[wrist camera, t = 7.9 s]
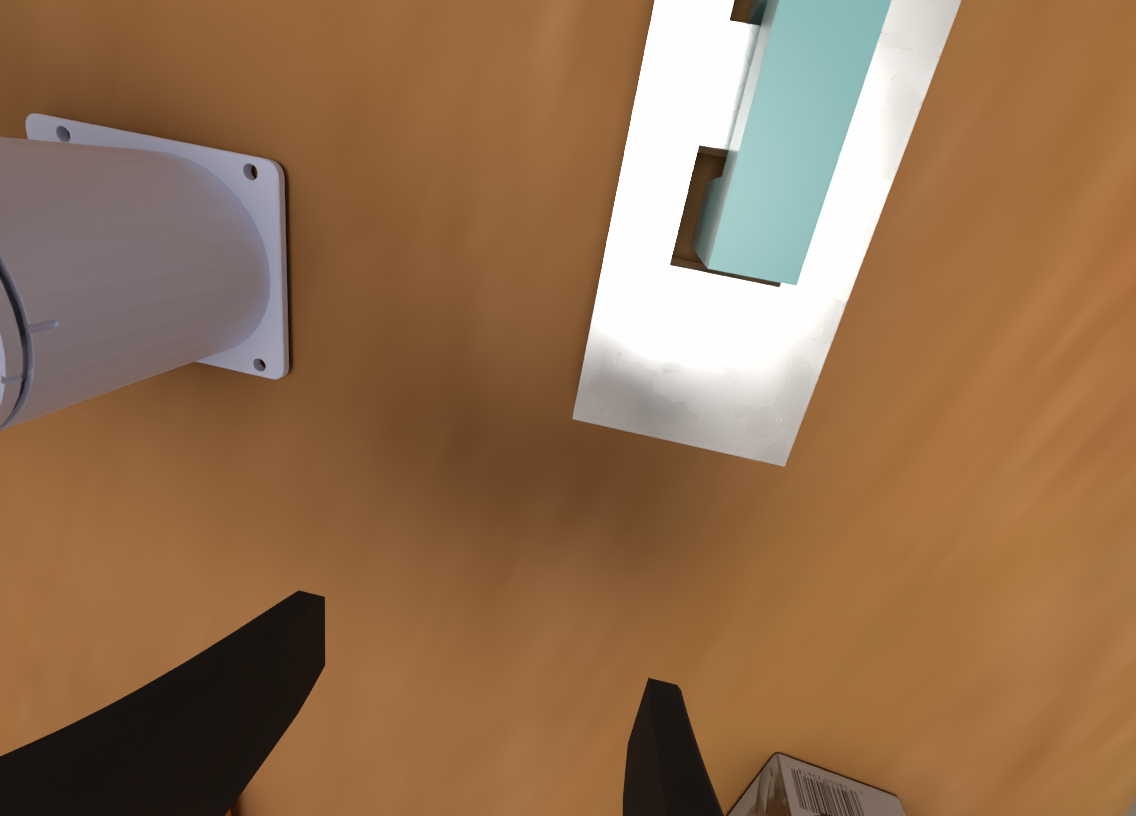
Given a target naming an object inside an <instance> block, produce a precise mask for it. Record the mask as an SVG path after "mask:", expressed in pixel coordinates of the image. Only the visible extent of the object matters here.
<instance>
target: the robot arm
mask: <svg viewBox="0 0 1136 816" xmlns="http://www.w3.org/2000/svg"><path fill="white" fill-rule="evenodd" d="M25 123H26V132H27V137H28V139H20V138H9V137H0V431H2V430H5V429H8V428H10V427H13V426H16V425H19V424H21V423H24V422H27V421H30V420H33V419H35V418H38V417H41V416H44V415H47V414H49V413H52V412H55V411H58V410H61V409H63V408H66V407H69V406H72V405H75V404H77V403H80V402H83V401H86V400H88V399H91V398H94V397H97V396H100V395H102V394H105V393H108V392H111V391H114V390H116V389H119V388H122V387H125V386H128V385H130V384H133V383H136V382H139V381H142V380H144V379H147V378H150V377H153V376H155V375H158V374H161V373H164V372H167V371H169V370H172V369H175V368H178V367H181V366H183V365H186V364H189V363H192V362H199V363H204V364H208V365H212V366H217V367H221V368H225V369H230V370H234V371H239V372H243V373H247V374H252V375H256V376H261V377H265V378H269V379H279V378H281V377H283V376H286V374H287V373H288V371H289V345H288V304H287V262H286V221H285V180H284V173H283V170H282V168H281V166H280V165H279V164H278V163H277V162H276V161H273V160H271V159H267V158H261V157H256V156H251V155H246V154H241V153H236V152H231V151H226V150H221V149H216V148H211V147H206V146H201V145H196V144H191V143H186V142H181V141H176V140H170V139H165V138H160V137H155V136H150V135H145V134H140V133H135V132H130V131H125V130H120V129H115V128H110V127H105V126H100V125H95V124H90V123H84V122H79V121H74V120H69V119H64V118H59V117H54V116H49V115H44V114H36V113H35V114H30V115H29V116H27V119H26V121H25ZM68 131H69V134H70V139H69V137H68ZM253 165H254V166H255V167H256V169H257V172H258V175H257V178H256V179H255V178H254V177H253V176H252V173H251V169H252V166H253ZM260 359H261V360H263V361H264V363H265V365H266V368H264V367H263V366H262V365H261V363H260ZM324 666H325V597H323V596H319V595H315V594H311V593H307V592H303V591H297V592H295V593H294V594H292V595H291V596H289V597H287V598H286V599H284V600H283V601H281V602H280V603H278V604H276V605H275V606H273V607H272V608H270V609H269V610H267V611H266V612H264V613H263V614H261V615H259V616H258V617H256V618H255V619H253V620H252V621H250V622H249V623H247V624H246V625H244V626H242V627H241V628H239V629H238V630H236V631H235V632H233V633H232V634H230V635H228V636H227V637H225V638H224V639H222V640H220V641H219V642H217V643H216V644H214V645H212V646H211V647H209V648H208V649H206V650H204V651H203V652H201V653H200V654H198V655H196V656H195V657H193V658H191V659H190V660H188V661H186V662H185V663H183V664H181V665H180V666H178V667H176V668H174V669H173V670H171V671H169V672H168V673H166V674H164V675H162V676H161V677H159V678H157V679H155V680H154V681H152V682H150V683H148V684H147V685H145V686H143V687H142V688H140V689H138V690H136V691H134V692H133V693H131V694H129V695H127V696H125V697H123V698H121V699H120V700H118V701H116V702H114V703H112V704H110V705H108V706H106V707H105V708H103V709H101V710H99V711H97V712H95V713H93V714H91V715H89V716H87V717H85V718H83V719H81V720H79V721H77V722H75V723H73V724H71V725H69V726H67V727H65V728H62V729H60V730H58V731H56V732H54V733H52V734H50V735H47V736H45V737H43V738H41V739H38V740H36V741H34V742H32V743H30V744H27V745H25V746H23V747H21V748H18V749H16V750H14V751H12V752H9V753H7V754H5V755H3V756H0V816H225V815H226V814H227V812H228V811H229V810H230V808H231V807H232V805H233V804H234V803H235V801H236V800H237V798H238V797H239V796H240V794H241V793H242V791H243V790H244V789H245V787H246V786H247V784H248V783H249V782H250V780H251V779H252V777H253V776H254V775H255V773H256V772H257V770H258V769H259V768H260V766H261V765H262V763H263V762H264V761H265V759H266V758H267V757H268V755H269V754H270V752H271V751H272V750H273V748H274V747H275V745H276V744H277V742H278V741H279V740H280V738H281V737H282V735H283V734H284V733H285V731H286V730H287V728H288V727H289V725H290V724H291V723H292V721H293V720H294V718H295V717H296V715H297V714H298V713H299V711H300V709H301V707H302V706H303V704H304V702H305V700H306V699H307V697H308V695H309V694H310V692H311V690H312V688H313V686H314V685H315V683H316V681H317V679H318V677H319V675H320V674H321V672H322V670H323V668H324ZM623 816H724V815H723V812H722V810H721V807H720V805H719V802H718V799H717V797H716V794H715V792H714V789H713V786H712V784H711V781H710V779H709V776H708V773H707V771H706V768H705V765H704V762H703V760H702V757H701V754H700V751H699V748H698V745H697V742H696V739H695V736H694V733H693V730H692V727H691V724H690V720H689V717H688V714H687V710H686V707H685V703H684V700H683V696H682V692H681V690H680V688H679V687H678V685H675V684H671V683H667V682H663V681H659V680H655V679H651V678H648V681H647V684H646V688H645V691H644V694H643V697H642V700H641V704H640V707H639V710H638V713H637V716H636V720H635V723H634V726H633V729H632V732H631V736H630V739H629V742H628V748H627V759H626V769H625V781H624V792H623Z"/></svg>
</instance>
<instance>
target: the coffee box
mask: <svg viewBox="0 0 1136 816" xmlns="http://www.w3.org/2000/svg"><path fill="white" fill-rule="evenodd" d="M728 816H906V814H905V812H904V809H903V807H902V804H901V802H900V800H899V799H898V798H897V797H896V796H894V795H891V794H889V793H886V792H883V791H881V790H878V789H875V788H873V787H870V786H867V785H864V784H861V783H859V782H856V781H853V780H850V779H848V778H845V777H842V776H840V775H837V774H834V773H831V772H828V771H825V770H823V769H820V768H817V767H815V766H812V765H809V764H806V763H803V762H801V761H798V760H795V759H793V758H790V757H787V756H785V755H782V754H778V753H777V754H774V755H773V757H772V758H771V759H770V761H769V762H768V763H767V764H766V766H765V767H764V769H763V770H762V771H761V773H760V774H759V775H758V777H757V778H756V779H755V781H754V782H753V783H752V785H751V786H750V787H749V789H748V790H747V791H746V793H745V794H744V795H743V797H742V798H741V799H740V801H739V802H738V803H737V805H736V806H735V807H734V809H733V810H732V811H731V813H730V814H729V815H728Z"/></svg>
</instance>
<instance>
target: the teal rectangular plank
mask: <svg viewBox="0 0 1136 816" xmlns="http://www.w3.org/2000/svg"><path fill="white" fill-rule="evenodd" d="M891 1H892V0H752V3H751V7H750V11H749V15H748V19H747V24H753V25H759V26H761V28H760V31H759V35H758V39H757V43H756V47H755V51H754V55H753V58H752V62H751V66H750V70H749V74H748V78H747V81H746V85H745V89H744V93H743V97H742V101H741V105H740V108H739V112H738V116H737V120H736V124H735V128H734V132H733V135H732V139H731V143H730V147H729V151H728V155H727V159H726V162H725V166H724V170H723V174H722V177H719V178H716V179H712V180H709V181H707V183H706V187H705V191H704V195H703V199H702V203H701V207H700V211H699V215H698V219H697V223H696V227H695V231H694V235H693V239H692V243H691V247H692V249H693V250H694V251H695V253H696V254H697V255H698V257H699V258H700V259H701V261H702V262H703V263H704V265H705V266H706V267H707V268H708V269H712V270H718V271H723V272H728V273H733V274H738V275H743V276H748V277H754V278H759V279H764V280H769V281H774V282H779V283H784V284H790V285H795V286H797V283H798V280H799V277H800V274H801V271H802V268H803V265H804V262H805V259H806V256H807V253H808V250H809V247H810V244H811V241H812V238H813V235H814V232H815V229H816V226H817V223H818V220H819V217H820V214H821V211H822V208H823V205H824V202H825V199H826V196H827V193H828V190H829V187H830V184H831V181H832V178H833V175H834V172H835V169H836V166H837V163H838V160H839V157H840V154H841V151H842V148H843V145H844V142H845V139H846V136H847V133H848V130H849V127H850V124H851V121H852V118H853V115H854V112H855V109H856V106H857V103H858V100H859V97H860V94H861V91H862V88H863V85H864V82H865V79H866V76H867V73H868V70H869V67H870V64H871V61H872V58H873V55H874V52H875V49H876V46H877V43H878V40H879V37H880V34H881V31H882V28H883V25H884V22H885V19H886V16H887V13H888V10H889V7H890V4H891Z"/></svg>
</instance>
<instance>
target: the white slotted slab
mask: <svg viewBox="0 0 1136 816" xmlns="http://www.w3.org/2000/svg"><path fill="white" fill-rule="evenodd" d="M733 3H734V0H655V3H654V8H653V13H652V18H651V23H650V28H649V33H648V38H647V43H646V48H645V53H644V58H643V64H642V69H641V74H640V79H639V84H638V89H637V94H636V99H635V104H634V109H633V114H632V119H631V124H630V129H629V134H628V139H627V144H626V150H625V155H624V160H623V165H622V170H621V175H620V180H619V185H618V190H617V195H616V200H615V205H614V210H613V215H612V220H611V225H610V230H609V235H608V241H607V246H606V251H605V256H604V261H603V266H602V271H601V276H600V281H599V286H598V291H597V296H596V301H595V306H594V311H593V316H592V321H591V326H590V332H589V337H588V342H587V347H586V352H585V357H584V362H583V367H582V372H581V377H580V382H579V387H578V392H577V397H576V402H575V407H574V412H573V417H572V419H575V420H579V421H584V422H588V423H592V424H597V425H601V426H606V427H610V428H615V429H619V430H624V431H628V432H633V433H637V434H642V435H646V436H650V437H655V438H659V439H664V440H668V441H673V442H677V443H682V444H686V445H691V446H695V447H699V448H704V449H708V450H713V451H717V452H722V453H726V454H731V455H735V456H740V457H744V458H749V459H753V460H757V461H762V462H766V463H771V464H775V465H780V466H784V467H785V464H786V461H787V459H788V456H789V454H790V451H791V448H792V446H793V443H794V440H795V438H796V435H797V432H798V430H799V427H800V425H801V422H802V419H803V417H804V414H805V411H806V409H807V406H808V403H809V401H810V398H811V395H812V393H813V390H814V388H815V385H816V382H817V380H818V377H819V374H820V372H821V369H822V366H823V364H824V361H825V359H826V356H827V353H828V351H829V348H830V345H831V343H832V340H833V337H834V335H835V332H836V330H837V327H838V324H839V322H840V319H841V316H842V314H843V311H844V308H845V306H846V303H847V301H848V298H849V295H850V293H851V290H852V287H853V285H854V282H855V279H856V277H857V274H858V272H859V269H860V266H861V264H862V261H863V258H864V256H865V253H866V250H867V248H868V245H869V243H870V240H871V237H872V235H873V232H874V229H875V227H876V224H877V221H878V219H879V216H880V214H881V211H882V208H883V206H884V203H885V200H886V198H887V195H888V192H889V190H890V187H891V185H892V182H893V179H894V177H895V174H896V171H897V169H898V166H899V163H900V161H901V158H902V156H903V153H904V150H905V148H906V145H907V142H908V140H909V137H910V134H911V132H912V129H913V127H914V124H915V121H916V119H917V116H918V113H919V111H920V108H921V105H922V103H923V100H924V98H925V95H926V92H927V90H928V87H929V84H930V82H931V79H932V76H933V74H934V71H935V69H936V66H937V63H938V61H939V58H940V55H941V53H942V50H943V47H944V45H945V42H946V40H947V37H948V34H949V32H950V29H951V26H952V24H953V21H954V18H955V16H956V13H957V10H958V8H959V5H960V3H961V0H892V1H891V4H890V7H889V10H888V13H887V16H886V19H885V22H884V25H883V28H882V31H881V34H880V37H879V40H878V43H877V46H876V49H875V52H874V55H873V58H872V61H871V64H870V67H869V70H868V73H867V76H866V79H865V82H864V85H863V88H862V91H861V94H860V97H859V100H858V103H857V106H856V109H855V112H854V115H853V118H852V121H851V124H850V127H849V130H848V133H847V136H846V139H845V142H844V145H843V148H842V151H841V154H840V157H839V160H838V163H837V166H836V169H835V172H834V175H833V178H832V181H831V184H830V187H829V190H828V193H827V196H826V199H825V202H824V205H823V208H822V211H821V214H820V217H819V220H818V223H817V226H816V229H815V232H814V235H813V238H812V241H811V244H810V247H809V250H808V253H807V256H806V259H805V262H804V265H803V268H802V271H801V274H800V277H799V280H798V283H797V286H795V285H790V284H784V283H779V282H774V281H769V280H764V279H759V278H754V277H748V276H743V275H738V274H733V273H728V272H723V271H718V270H712V269H708V268H707V267H706V266H705V265H704V264H701V263H696V262H691V261H686V260H681V259H676V258H671V257H672V253H673V248H674V244H675V240H676V236H677V232H678V228H679V224H680V220H681V216H682V212H683V208H684V204H685V199H686V195H687V191H688V187H689V183H690V179H691V175H692V171H693V167H694V163H695V159H696V154H697V153H702V154H707V155H712V156H718V157H723V158H727V155H728V151H729V147H730V143H731V139H732V135H733V132H734V128H735V124H736V120H737V116H738V112H739V108H740V105H741V101H742V97H743V93H744V89H745V85H746V81H747V78H748V74H749V70H750V66H751V62H752V58H753V55H754V51H755V47H756V43H757V39H758V35H759V31H760V28H761V26H759V25H753V24H747V23H741V22H735V21H729V20H730V16H731V11H732V7H733Z"/></svg>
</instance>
